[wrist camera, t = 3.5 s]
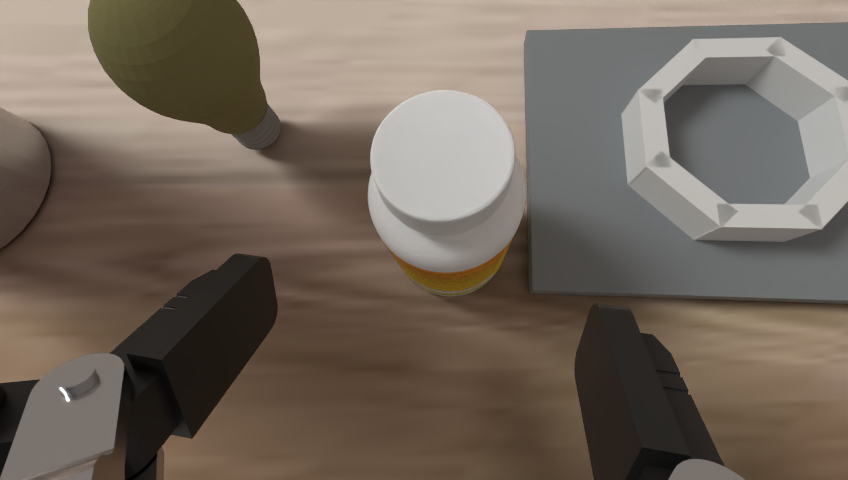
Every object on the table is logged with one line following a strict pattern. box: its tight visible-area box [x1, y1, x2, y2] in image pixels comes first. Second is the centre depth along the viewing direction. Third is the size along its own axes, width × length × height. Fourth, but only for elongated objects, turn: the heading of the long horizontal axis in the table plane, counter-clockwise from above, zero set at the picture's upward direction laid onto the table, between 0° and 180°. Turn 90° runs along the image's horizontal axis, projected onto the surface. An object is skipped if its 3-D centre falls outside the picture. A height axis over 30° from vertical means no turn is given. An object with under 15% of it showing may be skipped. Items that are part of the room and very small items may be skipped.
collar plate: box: [524, 22, 848, 304], centre depth 19 cm, size 18×14×3 cm
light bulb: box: [88, 0, 281, 150], centre depth 18 cm, size 6×6×10 cm
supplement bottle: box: [368, 90, 526, 296], centre depth 16 cm, size 5×5×10 cm
